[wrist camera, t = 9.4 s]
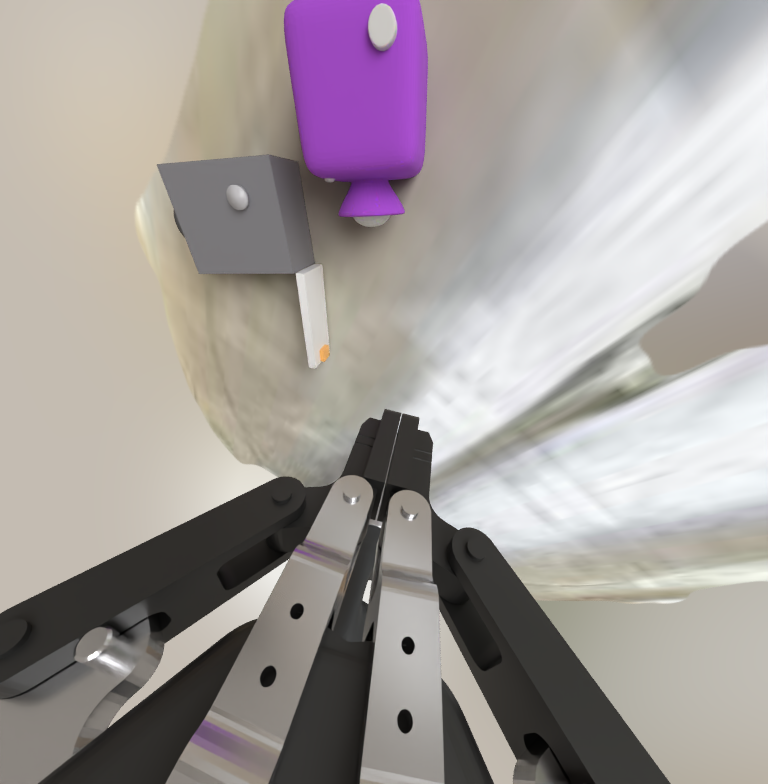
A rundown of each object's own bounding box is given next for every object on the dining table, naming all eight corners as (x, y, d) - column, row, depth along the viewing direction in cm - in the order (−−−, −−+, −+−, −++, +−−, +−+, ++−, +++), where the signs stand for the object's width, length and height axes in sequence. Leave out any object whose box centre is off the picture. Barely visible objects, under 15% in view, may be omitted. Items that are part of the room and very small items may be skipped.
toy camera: (349, 232, 33) (317, 243, 25) (307, 65, 26) (241, 5, 18) (443, 208, 30) (440, 211, 22) (424, 11, 23) (410, -92, 15)
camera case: (314, 263, 35) (291, 274, 30) (223, 264, 38) (186, 274, 33) (297, 161, 30) (265, 153, 25) (191, 170, 32) (140, 164, 27)
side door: (326, 264, 35) (309, 274, 31) (333, 351, 42) (320, 368, 38) (314, 263, 35) (295, 273, 31) (323, 350, 42) (308, 367, 38)
